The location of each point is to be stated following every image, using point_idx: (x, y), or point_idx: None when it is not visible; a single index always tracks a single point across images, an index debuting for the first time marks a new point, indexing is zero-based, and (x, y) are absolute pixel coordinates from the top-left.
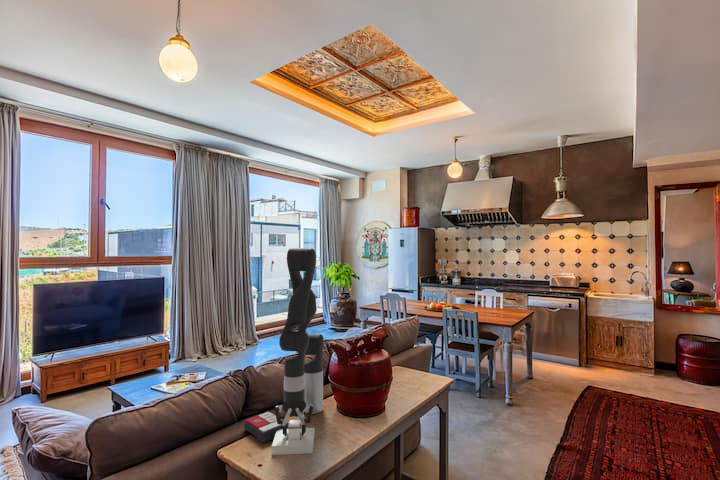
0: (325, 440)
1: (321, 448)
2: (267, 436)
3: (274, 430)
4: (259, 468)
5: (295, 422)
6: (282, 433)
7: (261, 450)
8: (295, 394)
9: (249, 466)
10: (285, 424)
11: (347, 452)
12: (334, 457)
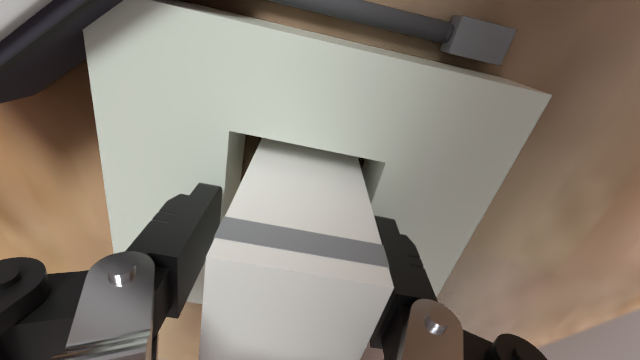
0: (545, 178)
1: (468, 259)
2: (20, 85)
3: (52, 43)
4: None
5: (297, 338)
6: (173, 124)
7: (61, 178)
8: None
9: None
10: (154, 340)
11: (580, 323)
12: (493, 339)
